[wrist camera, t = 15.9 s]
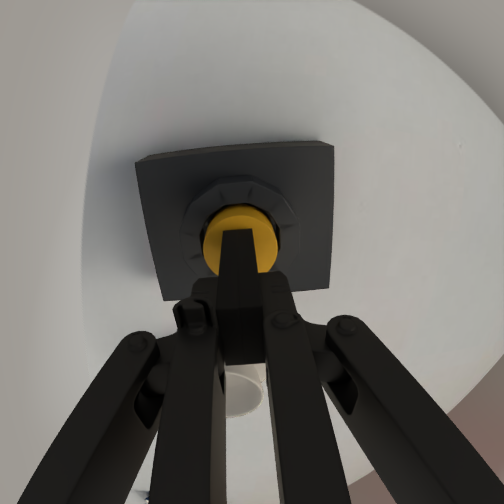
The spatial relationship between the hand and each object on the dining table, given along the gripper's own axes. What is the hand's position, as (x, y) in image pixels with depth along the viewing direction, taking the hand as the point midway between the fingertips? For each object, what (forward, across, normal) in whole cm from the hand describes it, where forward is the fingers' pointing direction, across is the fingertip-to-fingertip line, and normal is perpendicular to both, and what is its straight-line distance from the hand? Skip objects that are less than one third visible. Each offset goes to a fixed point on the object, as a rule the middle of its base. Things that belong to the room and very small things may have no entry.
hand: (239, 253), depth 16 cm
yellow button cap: (+2, 0, 0) cm, 2 cm away
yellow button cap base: (+7, 0, 0) cm, 7 cm away
